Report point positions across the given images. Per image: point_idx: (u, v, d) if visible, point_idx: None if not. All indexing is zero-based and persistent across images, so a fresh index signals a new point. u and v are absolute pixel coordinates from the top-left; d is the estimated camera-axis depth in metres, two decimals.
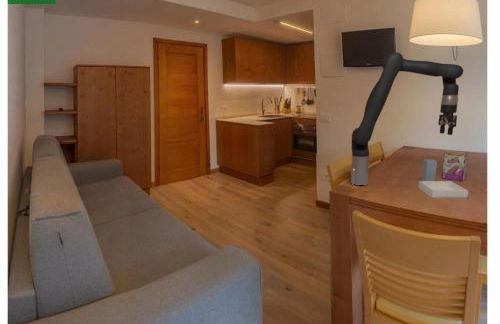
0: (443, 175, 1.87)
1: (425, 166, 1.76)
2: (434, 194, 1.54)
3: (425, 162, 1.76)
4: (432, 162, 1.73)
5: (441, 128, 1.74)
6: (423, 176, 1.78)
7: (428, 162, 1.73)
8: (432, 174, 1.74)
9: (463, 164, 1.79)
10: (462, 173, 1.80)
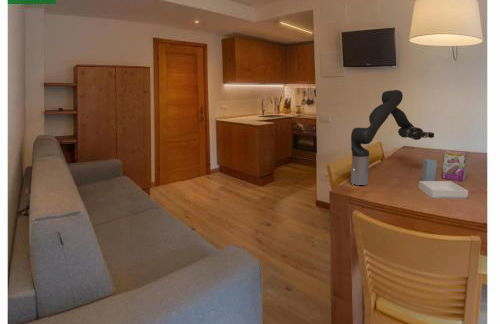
0: (443, 175, 1.87)
1: (425, 166, 1.76)
2: (434, 194, 1.54)
3: (425, 162, 1.76)
4: (432, 162, 1.73)
5: None
6: (423, 176, 1.78)
7: (428, 162, 1.73)
8: (432, 174, 1.74)
9: (463, 164, 1.79)
10: (462, 173, 1.80)
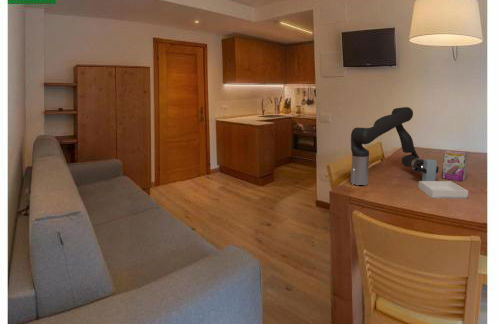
0: (443, 175, 1.87)
1: (425, 166, 1.76)
2: (434, 194, 1.54)
3: (425, 162, 1.75)
4: (432, 162, 1.73)
5: None
6: (424, 176, 1.78)
7: (428, 162, 1.73)
8: (432, 174, 1.74)
9: (463, 164, 1.79)
10: (462, 173, 1.80)
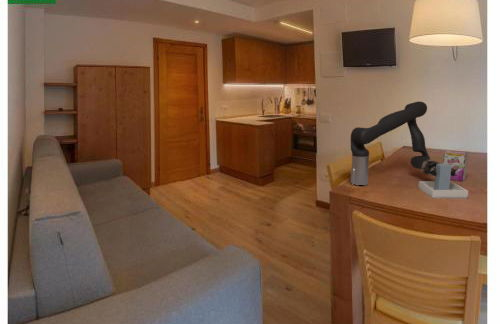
0: None
1: (438, 171, 1.59)
2: (434, 194, 1.54)
3: (438, 167, 1.59)
4: (446, 167, 1.56)
5: None
6: (436, 182, 1.61)
7: (442, 167, 1.57)
8: (446, 181, 1.58)
9: (463, 164, 1.79)
10: (462, 173, 1.80)
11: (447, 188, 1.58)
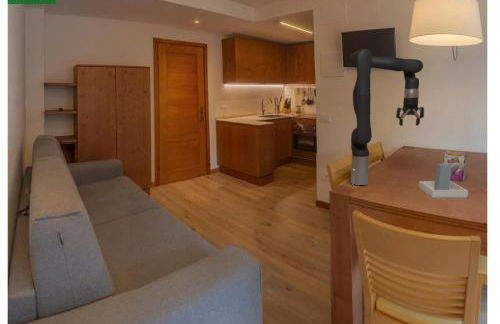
0: None
1: (438, 171, 1.59)
2: (434, 194, 1.54)
3: (438, 167, 1.59)
4: (446, 167, 1.56)
5: None
6: (436, 182, 1.61)
7: (442, 167, 1.57)
8: (446, 181, 1.58)
9: (463, 164, 1.79)
10: (462, 173, 1.80)
11: (447, 188, 1.58)
